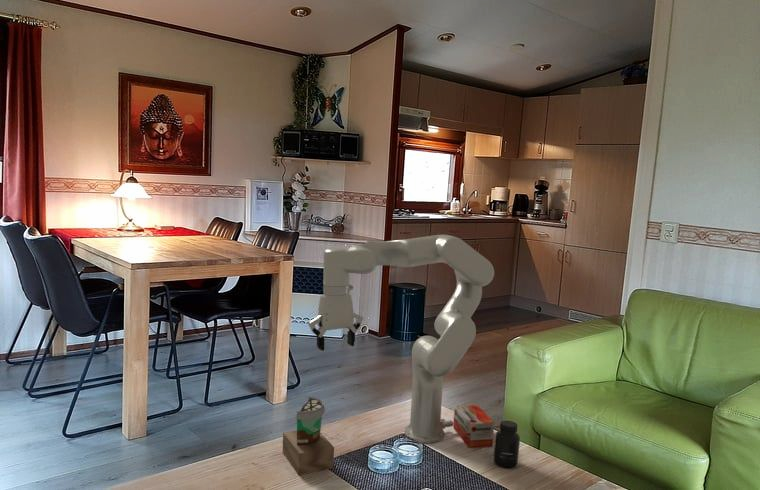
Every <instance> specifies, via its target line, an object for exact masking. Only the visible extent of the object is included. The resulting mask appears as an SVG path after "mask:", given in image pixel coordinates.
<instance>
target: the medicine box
mask: <svg viewBox="0 0 760 490" xmlns="http://www.w3.org/2000/svg"><path fill="white" fill-rule="evenodd" d="M452 427H453V429H454V432H456V434H457V435H458V437H460V439H461V440H462V441H463V442H464V444H465V445H466V447H467V448H468V449H476V448H493V444H494V429H495V421H494V420H493V419H492V418H491V417H490V416H489V415H488V414H487V413H486V412H485V410H483V409H482V408H481V407H480V406H479V405H478V404H469V405H468V404H467V405H466V404H465V405H454V411H453V426H452Z"/></svg>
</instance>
